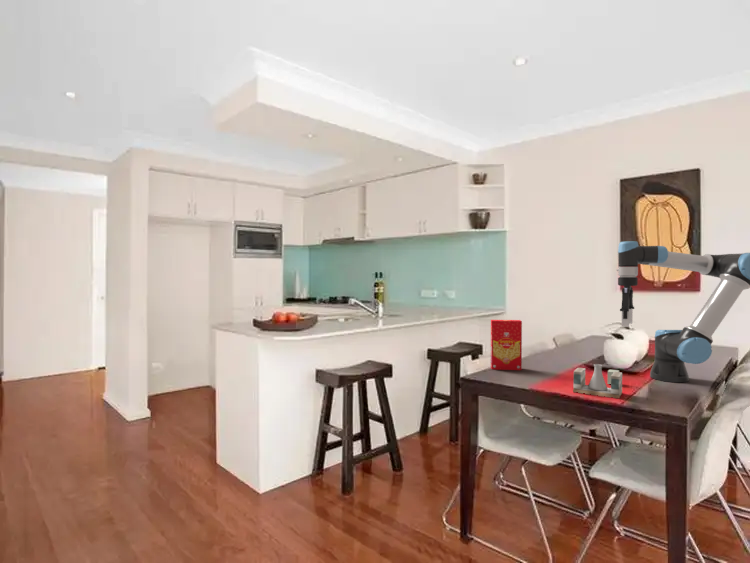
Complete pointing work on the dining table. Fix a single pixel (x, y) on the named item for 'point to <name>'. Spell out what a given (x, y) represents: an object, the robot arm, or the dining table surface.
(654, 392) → the dining table surface
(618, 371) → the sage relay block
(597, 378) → the flask
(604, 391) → the grey u-shaped holder
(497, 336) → the food packaging
